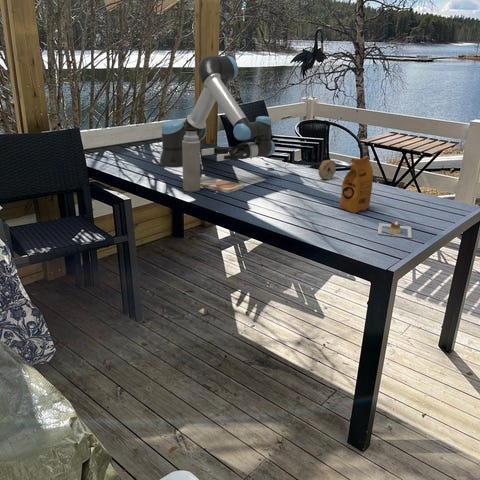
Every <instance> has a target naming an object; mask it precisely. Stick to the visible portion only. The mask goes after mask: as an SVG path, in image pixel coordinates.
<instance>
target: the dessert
mask: <svg viewBox="0 0 480 480" xmlns="http://www.w3.org/2000/svg"><path fill="white" fill-rule="evenodd" d="M383 227H389V228H388V230H387V231H388V233H391V234H386V233H382V231H383V230H382V229H383ZM377 229H378V230H377V234H378V235H382V236H387V237H388V236H390V237H396V238H397V237H398V238H405V239H412V238H413V233H412V227H411V226H408V225H407V226H406V225H400V224H399V223H398V221H393V222H392V223H390V224H389V223H382V222H378V227H377ZM401 229H403V230H404V229H406V230H407V236H405V235H404V236H402V235H397V234H401V233H402V232H401Z"/></svg>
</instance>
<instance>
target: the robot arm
mask: <svg viewBox="0 0 480 480" xmlns="http://www.w3.org/2000/svg"><path fill="white" fill-rule="evenodd" d="M199 61H200V62H199V63H198V66H197V74H198V78H199V81H200V82H201V84H202V86H203V89H202V91H201V92H200V95H199V97H198V99H197V102H196V104H195V105H194V108H193V109H192V112H191V113H190V114H188V115H187V116H186V118H185V119H184V121H183V120H181V119H172V120H171V119H170V120H166V121H164V122H163V123H162V124H161V144H162V146H161V148H162V150H161V156H160V159H159V165H160V166H161V167H166V166H167V168H178V167H179V168H180V167H183V154H182V141H183V140H184V139H183V138H184V136H185V135H186V128H196V129H197V131H196V132H197V135H198V137H199V141H200V142H201V141H202V140H203V139H205V138H206V136H207V133H208V131H207V123H206V121H207V119H208V117H209V115H210V112H211V110H212V109H213V107H214V105H215V103H217V104H218V106H219V107H220V108H221V110H222V112H223V113H224V114H225V116H226V117H227V119H228V120H229V122H230V124H231V126H233V131H232V133H233V136H234V138H235V139H236V140H237V141H247V140H251V139H255V141H253V142H252V141H250V142H243V143H238V144H237V146H234V147H233V146H212V147H211V148H210V147H209V148H203V149H201V156H209V155H210V156H211V155H213V156H214V155H215V154H217V155H216V162H221V161H222V162H223V161H228V160H231V161H237V160H247V159H250V160H252V159H255V158H261V157H270V156H272V155H273V154H274V153H276V152H275V151H276V146H275V142H274V141H273V140H271V136H272V118H271V117H269V116H266V115H262V116H260V115H259V116H257V117H256V118H255V121H252V122H250V121H249V119H248V118H247V116H246V115H245V112H244V111H243V110H242V109H241V107H240V106H239V104H238V103H237V101H236V100H235V98H234V96H233V95H232V94H231V92H230V91H229V90H228V88H227V86H228V84H229V82H230V81H233V80H234V79H236V77H237V75H238V73H239V68H238V67H239V66H238V63H237V61H236V60H235V58H234V57H232V56H230V55H226V54H225V55H224V54H223V55H207V56H205V57H203V58H202V59H201V60H199Z"/></svg>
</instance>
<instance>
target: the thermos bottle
mask: <svg viewBox="0 0 480 480" xmlns="http://www.w3.org/2000/svg"><path fill="white" fill-rule="evenodd" d="M196 131H197V129H196V128H186V135H185V136H184V138H183V139H184V140H183V141H182V154H183V166H182V190H184V192H185V191H186V192H191V193H192V192H198V191H200V190H201V187H200V177H201V140H200V141H199V137H198V135H197V132H196Z"/></svg>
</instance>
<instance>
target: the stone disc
mask: <svg viewBox="0 0 480 480" xmlns="http://www.w3.org/2000/svg"><path fill="white" fill-rule="evenodd" d="M336 169H337V168H336V162H335V161H334V160H332V159H325V160H323V161H322V162H321V163H320V165H319V168H318V177H319V178H320V179H323V180H325V179H328V180H330V179H329V178H331V179H332V178H333V177H334V175H335V174H336Z"/></svg>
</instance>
